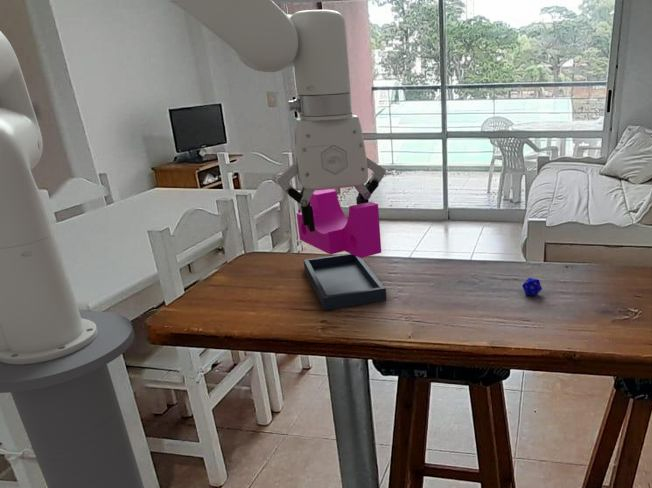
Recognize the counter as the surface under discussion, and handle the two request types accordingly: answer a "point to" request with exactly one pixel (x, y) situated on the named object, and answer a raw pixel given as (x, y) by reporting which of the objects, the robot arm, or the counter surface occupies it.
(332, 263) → the rectangular tray
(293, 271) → the counter surface
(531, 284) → the die
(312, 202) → the toy block
